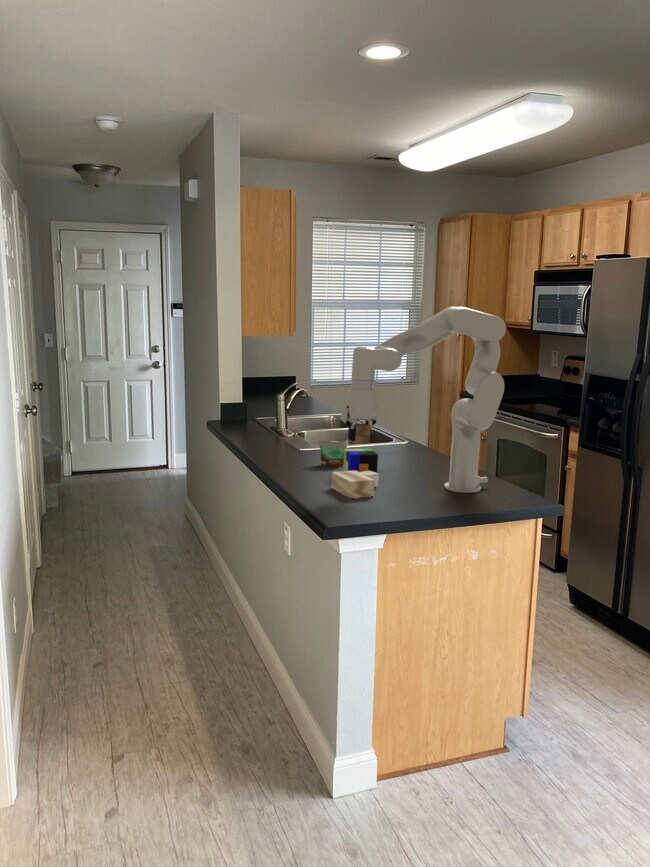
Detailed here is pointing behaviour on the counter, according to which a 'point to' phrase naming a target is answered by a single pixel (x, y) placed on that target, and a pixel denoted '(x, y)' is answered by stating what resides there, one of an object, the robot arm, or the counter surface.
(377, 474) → the offwhite cube
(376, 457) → the puzzle toy
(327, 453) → the food container
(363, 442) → the walnut block
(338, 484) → the maple block
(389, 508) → the counter surface
